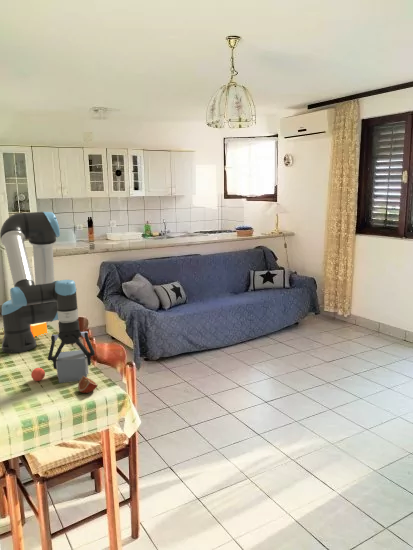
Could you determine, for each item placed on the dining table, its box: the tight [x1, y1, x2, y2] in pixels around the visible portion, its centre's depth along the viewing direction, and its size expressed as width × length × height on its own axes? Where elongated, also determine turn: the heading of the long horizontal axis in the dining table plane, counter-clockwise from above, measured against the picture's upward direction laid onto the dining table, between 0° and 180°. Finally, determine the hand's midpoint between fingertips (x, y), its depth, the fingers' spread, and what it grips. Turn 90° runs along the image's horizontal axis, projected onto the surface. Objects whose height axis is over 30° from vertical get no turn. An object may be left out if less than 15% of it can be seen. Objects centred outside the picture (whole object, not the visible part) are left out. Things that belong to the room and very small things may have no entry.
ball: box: [30, 367, 46, 382], centre depth 174 cm, size 5×5×5 cm
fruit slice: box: [77, 376, 98, 394], centre depth 163 cm, size 8×7×5 cm
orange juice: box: [30, 322, 48, 338], centre depth 233 cm, size 8×9×20 cm
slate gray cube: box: [57, 349, 88, 384], centre depth 177 cm, size 10×10×9 cm
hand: (73, 374), depth 177 cm, fingers closed on slate gray cube, 10 cm apart
